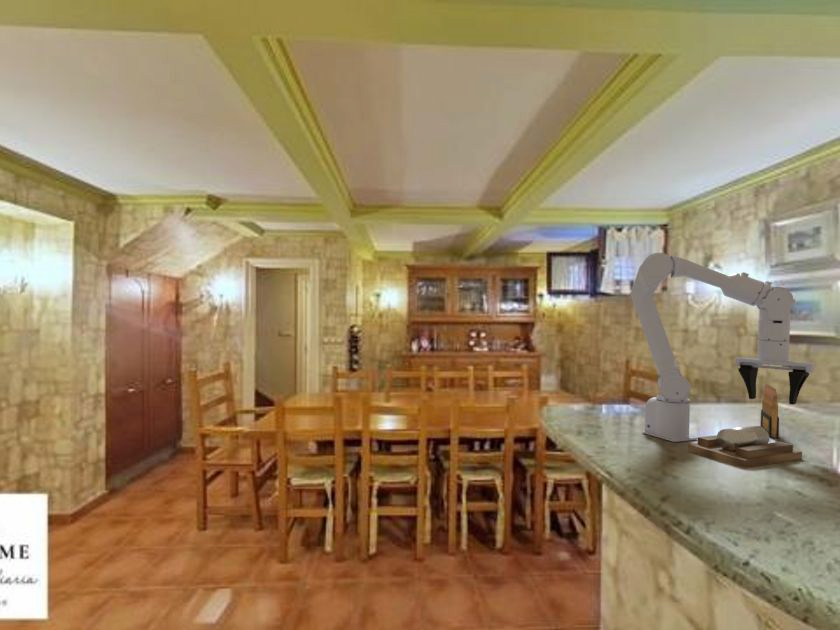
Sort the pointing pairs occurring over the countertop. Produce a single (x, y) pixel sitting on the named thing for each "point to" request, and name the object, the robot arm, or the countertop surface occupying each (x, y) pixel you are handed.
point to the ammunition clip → (770, 412)
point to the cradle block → (746, 452)
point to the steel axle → (742, 437)
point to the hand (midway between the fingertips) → (771, 401)
